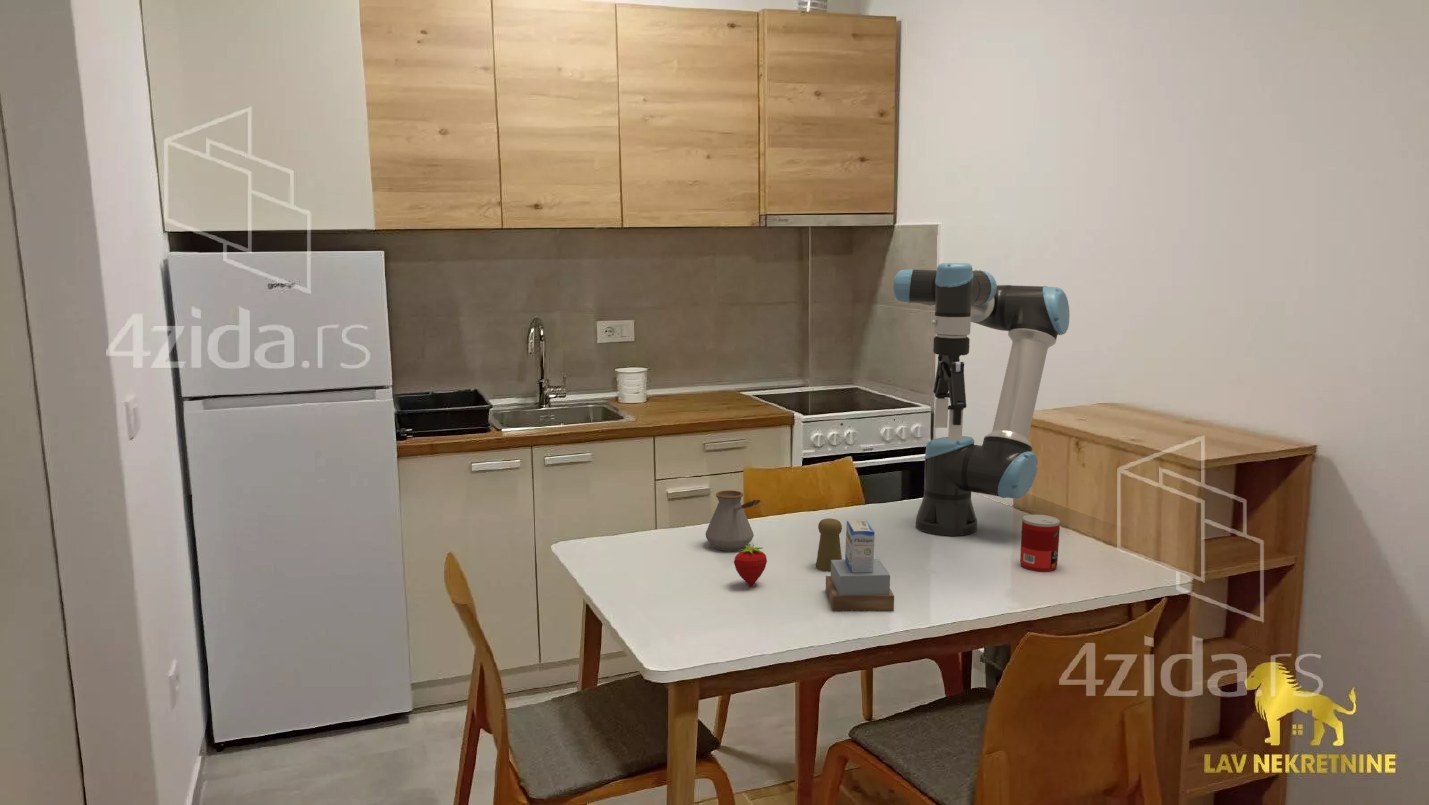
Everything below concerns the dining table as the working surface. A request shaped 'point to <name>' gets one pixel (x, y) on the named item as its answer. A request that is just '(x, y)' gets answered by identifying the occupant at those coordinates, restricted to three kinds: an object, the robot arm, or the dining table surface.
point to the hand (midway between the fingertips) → (947, 433)
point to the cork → (828, 544)
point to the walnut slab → (858, 600)
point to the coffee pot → (730, 522)
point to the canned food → (1039, 542)
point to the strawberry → (750, 564)
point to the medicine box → (859, 546)
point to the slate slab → (860, 579)
